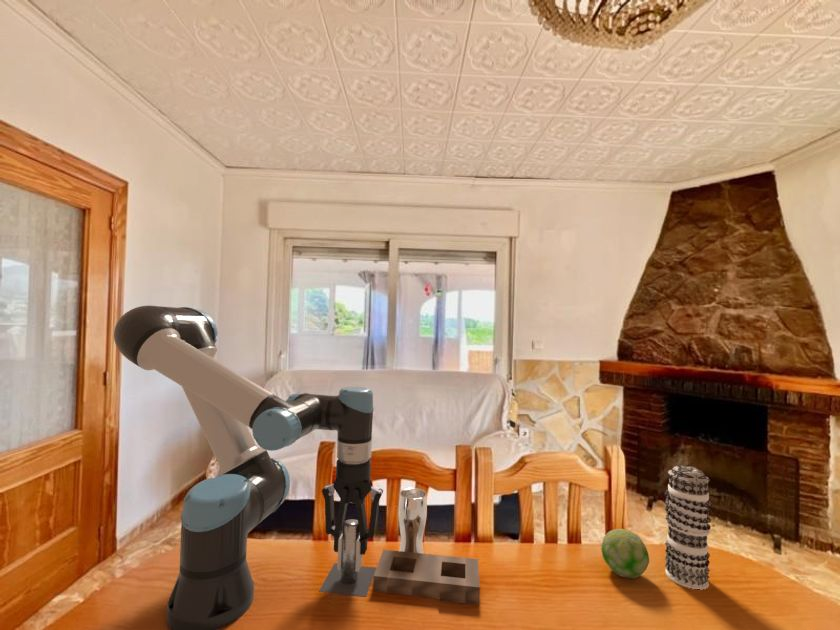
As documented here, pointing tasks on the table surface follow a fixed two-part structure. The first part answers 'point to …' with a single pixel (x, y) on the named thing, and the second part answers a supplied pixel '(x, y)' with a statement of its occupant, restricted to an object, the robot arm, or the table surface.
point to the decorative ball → (625, 553)
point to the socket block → (428, 576)
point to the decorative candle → (687, 527)
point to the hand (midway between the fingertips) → (349, 566)
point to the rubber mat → (355, 589)
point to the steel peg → (349, 551)
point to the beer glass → (412, 519)
